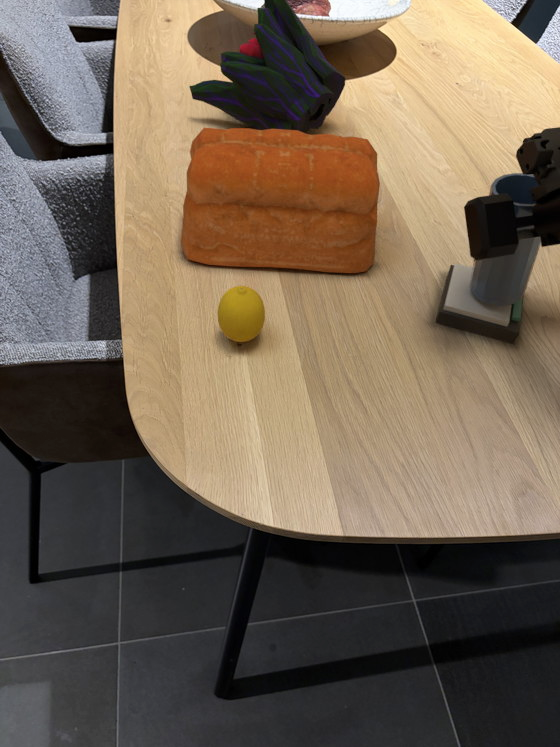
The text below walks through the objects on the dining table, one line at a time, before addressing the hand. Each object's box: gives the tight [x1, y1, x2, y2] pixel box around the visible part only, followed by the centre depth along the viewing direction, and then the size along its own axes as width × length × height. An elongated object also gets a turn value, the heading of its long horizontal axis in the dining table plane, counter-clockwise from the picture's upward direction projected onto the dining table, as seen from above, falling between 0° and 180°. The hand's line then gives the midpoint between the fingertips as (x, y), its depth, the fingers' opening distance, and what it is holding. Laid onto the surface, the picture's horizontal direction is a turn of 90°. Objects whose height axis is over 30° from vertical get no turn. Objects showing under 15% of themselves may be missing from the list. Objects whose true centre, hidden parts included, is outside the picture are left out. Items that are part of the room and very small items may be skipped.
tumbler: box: [469, 172, 541, 306], centre depth 71 cm, size 7×7×14 cm
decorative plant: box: [188, 0, 346, 134], centre depth 104 cm, size 21×26×30 cm
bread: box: [180, 127, 381, 274], centre depth 81 cm, size 14×27×15 cm, turn 89°
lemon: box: [217, 285, 266, 343], centre depth 70 cm, size 6×6×8 cm
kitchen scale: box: [435, 262, 525, 345], centre depth 78 cm, size 10×10×3 cm
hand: (502, 232), depth 72 cm, fingers closed on tumbler, 7 cm apart
